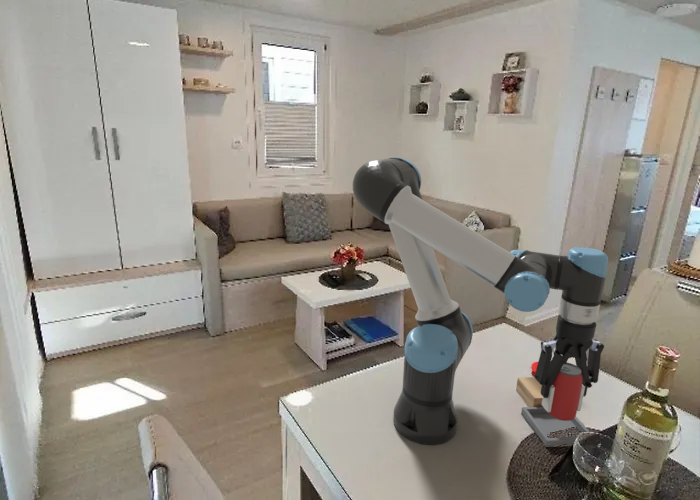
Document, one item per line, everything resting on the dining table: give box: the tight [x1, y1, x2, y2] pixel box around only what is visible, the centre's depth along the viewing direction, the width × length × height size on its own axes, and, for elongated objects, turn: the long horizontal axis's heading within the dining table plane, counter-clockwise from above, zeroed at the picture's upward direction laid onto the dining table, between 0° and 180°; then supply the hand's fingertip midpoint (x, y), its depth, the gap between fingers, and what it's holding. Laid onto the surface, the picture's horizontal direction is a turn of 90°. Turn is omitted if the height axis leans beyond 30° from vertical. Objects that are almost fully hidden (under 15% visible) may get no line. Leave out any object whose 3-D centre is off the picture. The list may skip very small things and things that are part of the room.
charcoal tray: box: [520, 406, 590, 446], centre depth 99 cm, size 12×12×2 cm
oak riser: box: [515, 376, 543, 407], centre depth 109 cm, size 9×9×4 cm
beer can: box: [548, 361, 583, 421], centre depth 96 cm, size 7×7×12 cm
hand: (560, 407), depth 97 cm, fingers closed on beer can, 6 cm apart
